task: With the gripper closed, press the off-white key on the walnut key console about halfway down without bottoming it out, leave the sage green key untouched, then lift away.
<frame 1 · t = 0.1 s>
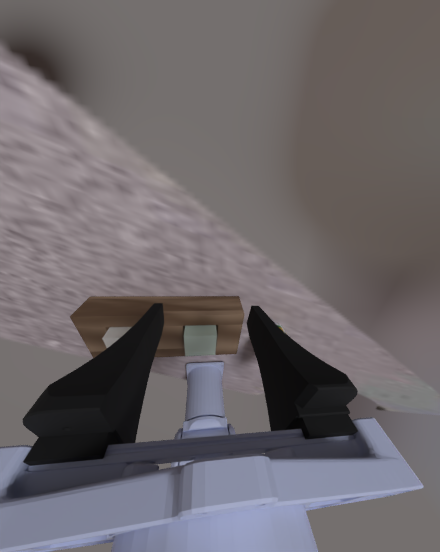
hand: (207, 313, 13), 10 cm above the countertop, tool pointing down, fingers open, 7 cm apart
off white key: (129, 339, 22), point 4 cm above the countertop, slide at 0.0 cm
key console: (170, 317, 26), on the countertop
sage key: (200, 337, 23), point 4 cm above the countertop, slide at 0.0 cm
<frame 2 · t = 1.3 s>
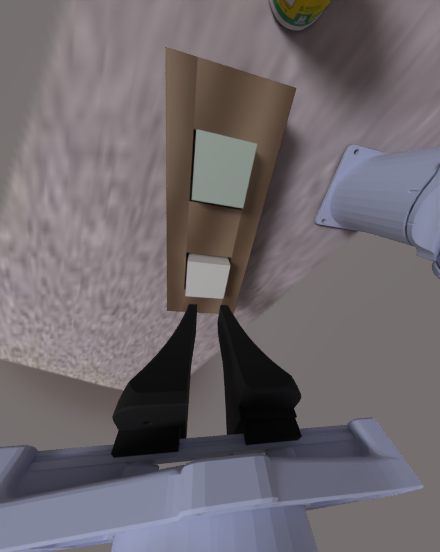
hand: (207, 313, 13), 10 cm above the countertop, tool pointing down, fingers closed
off white key: (206, 274, 18), point 4 cm above the countertop, slide at 0.0 cm
key console: (211, 223, 19), on the countertop
sage key: (220, 174, 13), point 4 cm above the countertop, slide at 0.0 cm
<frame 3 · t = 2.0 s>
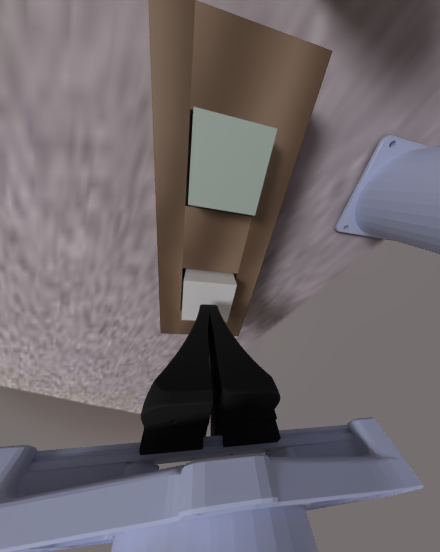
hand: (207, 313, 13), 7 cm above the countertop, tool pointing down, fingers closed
off white key: (207, 293, 15), point 4 cm above the countertop, slide at 0.0 cm
key console: (212, 231, 16), on the countertop
sage key: (225, 171, 10), point 4 cm above the countertop, slide at 0.0 cm
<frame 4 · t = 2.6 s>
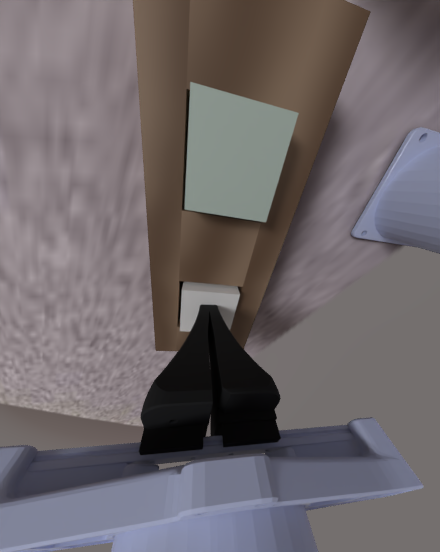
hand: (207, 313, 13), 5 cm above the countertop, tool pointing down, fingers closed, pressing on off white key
off white key: (207, 302, 14), point 3 cm above the countertop, slide at 0.8 cm, touching gripper
key console: (213, 237, 14), on the countertop
sage key: (230, 168, 8), point 4 cm above the countertop, slide at 0.0 cm
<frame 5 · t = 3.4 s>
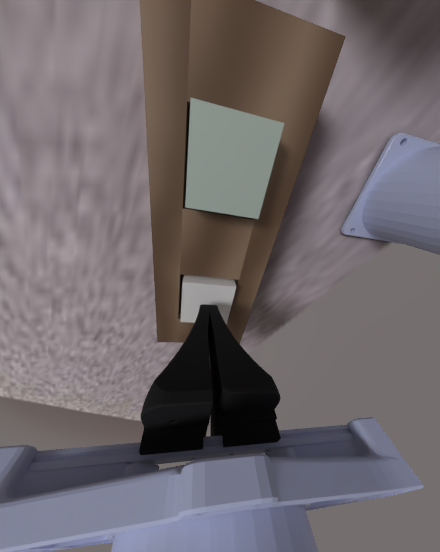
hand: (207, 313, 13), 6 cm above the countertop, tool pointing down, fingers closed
off white key: (206, 294, 15), point 3 cm above the countertop, slide at 0.8 cm
key console: (212, 234, 15), on the countertop
sage key: (226, 171, 9), point 4 cm above the countertop, slide at 0.0 cm
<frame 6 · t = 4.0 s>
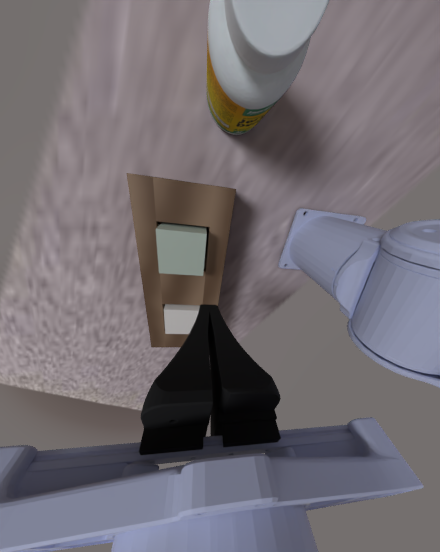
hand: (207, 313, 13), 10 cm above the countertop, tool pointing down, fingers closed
off white key: (183, 314, 22), point 3 cm above the countertop, slide at 0.8 cm
key console: (186, 272, 22), on the countertop
supplement bottle: (235, 97, 14), on the countertop
sage key: (183, 248, 16), point 4 cm above the countertop, slide at 0.0 cm
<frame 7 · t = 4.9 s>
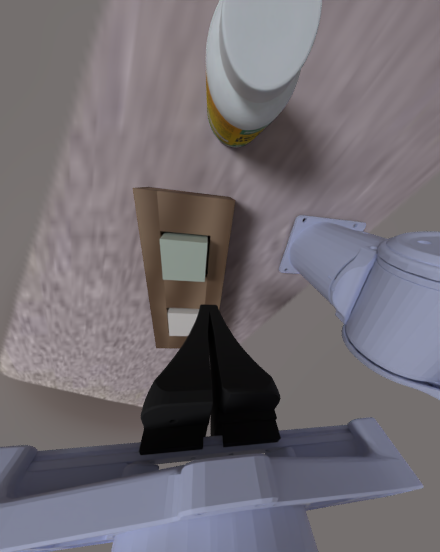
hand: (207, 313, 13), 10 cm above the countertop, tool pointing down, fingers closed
off white key: (186, 317, 23), point 3 cm above the countertop, slide at 0.8 cm
key console: (188, 276, 23), on the countertop
supplement bottle: (235, 112, 15), on the countertop
sage key: (185, 256, 17), point 4 cm above the countertop, slide at 0.0 cm
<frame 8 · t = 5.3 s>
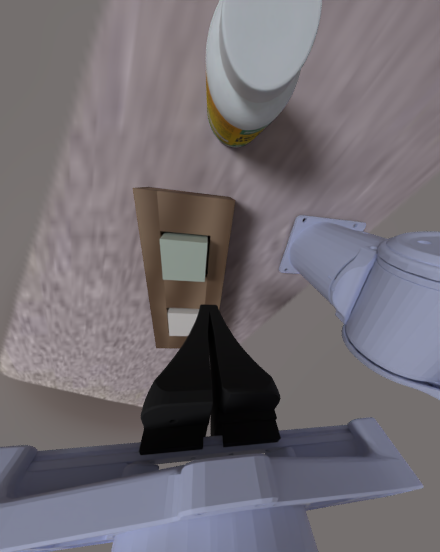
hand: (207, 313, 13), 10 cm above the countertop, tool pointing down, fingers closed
off white key: (186, 317, 23), point 3 cm above the countertop, slide at 0.8 cm
key console: (188, 276, 23), on the countertop
supplement bottle: (235, 112, 15), on the countertop
sage key: (185, 256, 17), point 4 cm above the countertop, slide at 0.0 cm
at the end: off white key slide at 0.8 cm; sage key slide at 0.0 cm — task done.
